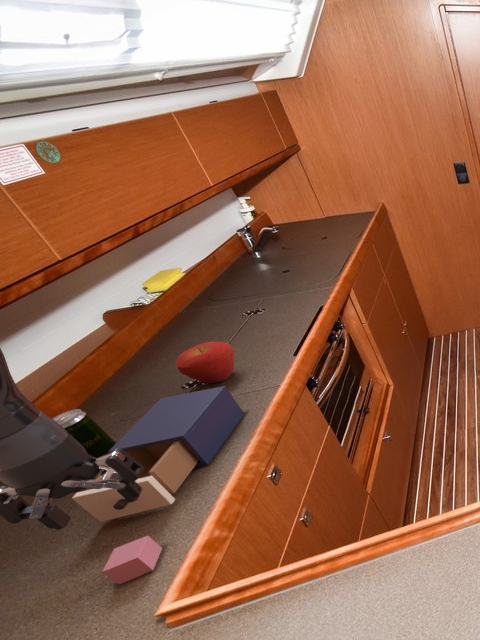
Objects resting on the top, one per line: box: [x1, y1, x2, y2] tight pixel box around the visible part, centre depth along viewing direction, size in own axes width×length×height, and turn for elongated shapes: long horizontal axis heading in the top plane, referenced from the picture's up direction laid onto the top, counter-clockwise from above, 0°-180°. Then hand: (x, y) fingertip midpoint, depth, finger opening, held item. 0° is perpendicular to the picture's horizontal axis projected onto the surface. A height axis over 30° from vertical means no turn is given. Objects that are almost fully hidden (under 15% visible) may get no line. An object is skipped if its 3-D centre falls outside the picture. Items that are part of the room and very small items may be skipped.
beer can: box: [52, 408, 117, 458], centre depth 93 cm, size 5×5×12 cm
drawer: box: [71, 439, 199, 523], centre depth 85 cm, size 16×12×8 cm
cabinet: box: [108, 385, 245, 469], centre depth 95 cm, size 16×13×10 cm
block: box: [102, 535, 163, 585], centre depth 73 cm, size 4×4×4 cm
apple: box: [175, 341, 235, 384], centre depth 114 cm, size 11×11×12 cm
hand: (101, 510), depth 69 cm, fingers open, 8 cm apart
